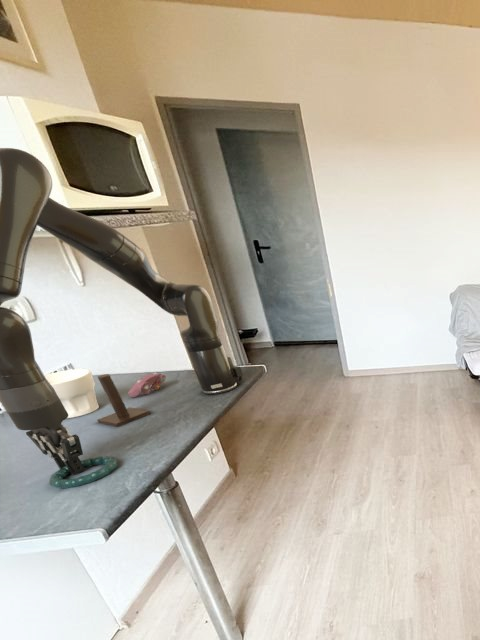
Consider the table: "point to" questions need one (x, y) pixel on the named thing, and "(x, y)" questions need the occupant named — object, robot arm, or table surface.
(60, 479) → the ring
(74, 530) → the table surface
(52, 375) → the cup
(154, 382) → the pink oval lump
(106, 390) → the post
